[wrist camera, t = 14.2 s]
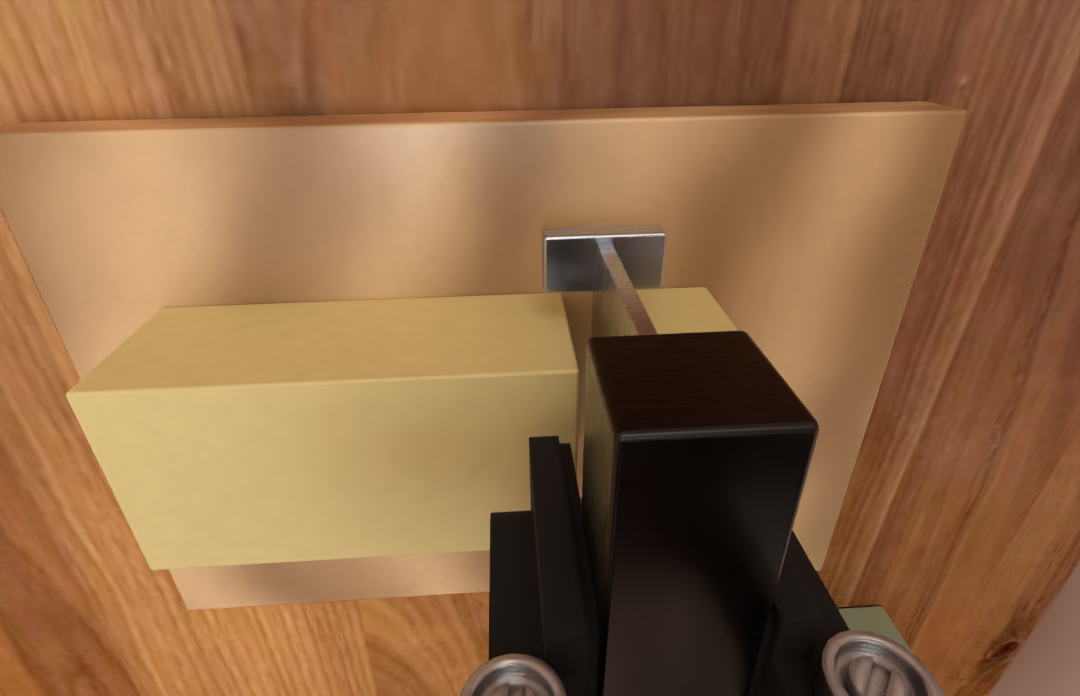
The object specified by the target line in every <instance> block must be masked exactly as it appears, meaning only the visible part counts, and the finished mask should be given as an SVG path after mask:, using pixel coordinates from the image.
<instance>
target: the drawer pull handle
mask: <svg viewBox="0 0 1080 696" xmlns="http://www.w3.org/2000/svg"><path fill="white" fill-rule="evenodd" d="M541 235H542V284H543V289H544V292H545V293H572V292H593V296H592V326H591V338H589V340H588V342H587V347H586V381H585V415H584V449H583V484H582V497H580V500H581V506H582V518H581V520H582V526H583V532H584V538H585V543H586V549H587V555H588V561H589V567H590V573H591V579H592V584H593V590H594V596H595V602H596V608H597V614H598V623H599V638H600V647H599V664H598V681H597V696H747V695H748V691H749V688H750V684H751V680H752V677H753V673H754V669H755V666H756V662H757V658H758V654H759V651H760V647H761V643H762V640H763V636H764V632H765V629H766V625H767V621H768V618H769V614H770V610H771V607H772V603H773V599H774V596H775V592H776V588H777V584H778V581H779V577H780V573H781V570H782V566H783V562H784V559H785V555H786V551H787V548H788V544H789V540H790V537H791V533H792V529H793V525H794V522H795V518H796V514H797V511H798V507H799V503H800V500H801V496H802V492H803V489H804V485H805V481H806V478H807V474H808V470H809V467H810V463H811V459H812V455H813V452H814V448H815V444H816V441H817V437H818V433H819V426H818V422H817V421H816V419H815V418H814V417H813V415H812V414H811V413H810V412H809V410H808V409H807V408H806V407H805V405H804V404H803V403H802V402H801V400H800V399H799V398H798V396H797V395H796V394H795V393H794V391H793V390H792V389H791V388H790V386H789V385H788V384H787V382H786V381H785V380H784V379H783V377H782V376H781V375H780V374H779V372H778V371H777V370H776V369H775V367H774V366H773V365H772V363H771V362H770V361H769V360H768V358H767V357H766V356H765V355H764V353H763V352H762V351H761V349H760V348H759V347H758V346H757V344H756V343H755V342H754V341H753V339H752V338H751V337H750V336H749V334H748V333H747V332H745V331H741V330H739V331H716V332H693V333H670V334H658V333H657V331H656V329H655V327H654V325H653V323H652V321H651V320H650V318H649V316H648V314H647V312H646V310H645V308H644V306H643V304H642V302H641V300H640V298H639V296H638V294H637V292H636V290H648V289H661V287H662V282H663V272H664V261H665V251H666V240H667V233H666V232H665V230H664V229H663V228H662V227H661V225H659V224H652V225H622V226H592V227H562V228H544V229H542V231H541Z"/></svg>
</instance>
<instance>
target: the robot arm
mask: <svg viewBox="0 0 1080 696" xmlns="http://www.w3.org/2000/svg"><path fill="white" fill-rule="evenodd" d="M529 464H530V500H531V510H528V511H510V512H493V513H491V514H490V587H489V661H487V662H486V663H484V664H482V665H481V666H480V667H479V668H478V669H477V670H476V671H475V672H474V673H473V674H472V675H471V676H470V677H469V678H468V680H467V682H466V684H465V686H464V688H463V689H462V691H461V694H460V696H597V681H598V664H599V647H600V638H599V623H598V614H597V608H596V602H595V596H594V590H593V584H592V579H591V573H590V567H589V561H588V555H587V549H586V543H585V538H584V532H583V526H582V520H581V518H582V506H581V500H580V495H579V489H578V483H577V478H576V472H575V466H574V460H573V455H572V449H571V444H570V443H560V442H559V437H558V436H542V437H529ZM747 696H945V695H944V693H943V691H942V690H941V688H940V687H939V685H938V684H937V682H936V681H935V679H934V678H933V676H932V674H931V673H930V672H929V671H928V670H927V668H926V667H925V666H924V665H923V663H922V662H921V661H920V660H919V659H918V658H917V657H916V656H915V655H913V654H912V653H911V652H910V651H908V650H907V649H906V648H905V647H904V646H902V645H900V644H898V643H897V642H895V641H893V640H891V639H889V638H888V637H886V636H882V635H879V634H876V633H873V632H870V631H862V630H850V629H849V628H848V626H847V624H846V622H845V621H844V619H843V617H842V615H841V614H840V612H839V610H838V608H837V607H836V605H835V603H834V601H833V600H832V598H831V596H830V595H829V593H828V591H827V589H826V588H825V586H824V584H823V582H822V581H821V579H820V577H819V575H818V574H817V572H816V570H815V568H814V567H813V565H812V563H811V561H810V560H809V558H808V556H807V554H806V553H805V551H804V549H803V547H802V546H801V544H800V542H799V540H798V539H797V537H796V535H795V533H794V532H793V530H792V533H791V537H790V540H789V544H788V548H787V551H786V555H785V559H784V562H783V566H782V570H781V573H780V577H779V581H778V584H777V588H776V592H775V596H774V599H773V603H772V607H771V610H770V614H769V618H768V621H767V625H766V629H765V632H764V636H763V640H762V643H761V647H760V651H759V654H758V658H757V662H756V666H755V669H754V673H753V677H752V680H751V684H750V688H749V691H748V695H747Z"/></svg>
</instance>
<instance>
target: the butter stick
mask: <svg viewBox="0 0 1080 696" xmlns="http://www.w3.org/2000/svg"><path fill="white" fill-rule="evenodd" d="M66 397H67V399H68V401H69V403H70V405H71V407H72V410H73V412H74V414H75V416H76V418H77V420H78V422H79V424H80V426H81V428H82V430H83V432H84V434H85V436H86V438H87V440H88V442H89V444H90V446H91V448H92V450H93V453H94V455H95V457H96V459H97V461H98V463H99V465H100V467H101V469H102V471H103V473H104V475H105V477H106V479H107V481H108V483H109V485H110V487H111V489H112V491H113V493H114V496H115V498H116V500H117V502H118V504H119V506H120V508H121V510H122V512H123V514H124V516H125V518H126V520H127V522H128V524H129V526H130V528H131V530H132V532H133V534H134V536H135V539H136V541H137V543H138V545H139V547H140V549H141V551H142V553H143V555H144V557H145V559H146V561H147V563H148V565H149V567H150V569H151V570H165V569H182V568H199V567H216V566H233V565H249V564H266V563H283V562H300V561H317V560H334V559H351V558H368V557H385V556H401V555H418V554H435V553H452V552H469V551H486V550H490V514H491V513H493V512H510V511H528V510H531V500H530V464H529V437H542V436H558V437H559V442H560V443H570V444H571V449H572V455H573V460H574V466H575V472H576V478H577V452H578V408H579V368H578V364H577V359H576V355H575V351H574V346H573V342H572V338H571V333H570V329H569V325H568V320H567V316H566V312H565V307H564V303H563V299H562V295H561V293H534V294H508V295H482V296H456V297H430V298H404V299H378V300H352V301H325V302H299V303H273V304H247V305H221V306H195V307H169V308H162V309H160V310H159V311H158V312H157V313H156V314H155V315H153V316H152V317H151V318H150V319H149V320H148V321H147V322H146V323H144V324H143V325H142V326H141V327H140V328H139V329H138V330H137V331H135V332H134V333H133V334H132V335H131V336H130V337H129V338H127V339H126V340H125V341H124V342H123V343H122V344H121V345H120V346H118V347H117V348H116V349H115V350H114V351H113V352H112V353H111V354H109V355H108V356H107V357H106V358H105V359H104V360H103V361H102V362H100V363H99V364H98V365H97V366H96V367H95V368H94V369H93V370H91V371H90V372H89V373H88V374H87V375H86V376H85V377H84V378H82V379H81V380H80V381H79V382H78V383H77V384H76V385H75V386H73V387H72V388H71V389H70V390H69V391H68V392H67V393H66Z"/></svg>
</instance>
